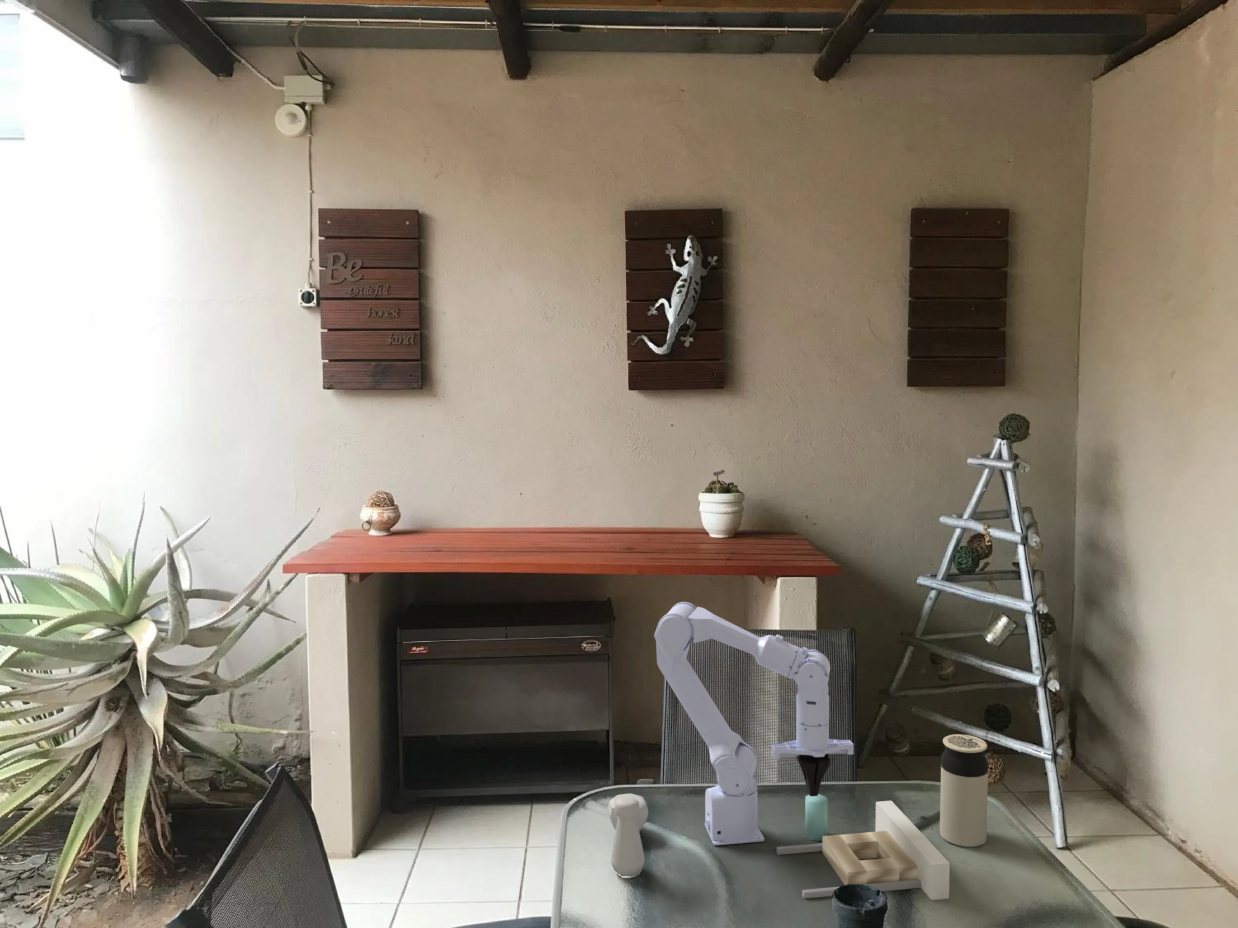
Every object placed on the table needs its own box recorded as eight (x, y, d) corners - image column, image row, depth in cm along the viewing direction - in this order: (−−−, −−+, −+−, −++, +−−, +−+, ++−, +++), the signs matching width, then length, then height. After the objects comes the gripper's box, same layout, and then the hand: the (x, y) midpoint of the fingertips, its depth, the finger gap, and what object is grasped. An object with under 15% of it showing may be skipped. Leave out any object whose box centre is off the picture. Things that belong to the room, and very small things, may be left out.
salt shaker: (606, 867, 158) (604, 795, 157) (636, 860, 160) (635, 789, 159) (619, 884, 153) (618, 810, 152) (650, 876, 155) (649, 803, 154)
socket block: (848, 889, 150) (848, 872, 150) (822, 852, 162) (822, 835, 162) (917, 883, 152) (917, 865, 152) (886, 846, 164) (887, 830, 163)
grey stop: (811, 911, 144) (811, 875, 144) (770, 841, 166) (770, 810, 166) (948, 898, 147) (949, 862, 147) (890, 831, 169) (891, 800, 169)
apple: (645, 843, 166) (645, 809, 166) (603, 840, 168) (602, 806, 167) (651, 822, 174) (651, 789, 173) (611, 819, 175) (610, 786, 175)
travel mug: (962, 852, 162) (964, 753, 160) (930, 831, 169) (931, 737, 167) (996, 842, 165) (998, 745, 163) (963, 822, 172) (965, 730, 170)
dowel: (809, 841, 166) (809, 804, 165) (802, 830, 170) (802, 794, 169) (830, 839, 167) (830, 802, 166) (822, 828, 171) (823, 792, 170)
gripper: (779, 731, 159) (779, 806, 160) (860, 726, 160) (859, 800, 161) (768, 716, 165) (768, 788, 167) (845, 711, 167) (845, 783, 168)
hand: (812, 793), depth 165 cm, fingers closed
